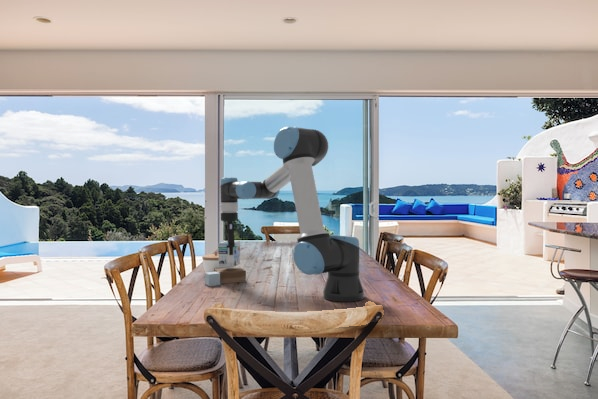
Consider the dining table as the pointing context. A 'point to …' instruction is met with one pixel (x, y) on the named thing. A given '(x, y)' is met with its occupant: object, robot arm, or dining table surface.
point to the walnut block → (231, 274)
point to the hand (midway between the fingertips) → (229, 260)
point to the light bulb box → (224, 254)
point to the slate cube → (212, 278)
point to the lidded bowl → (211, 262)
